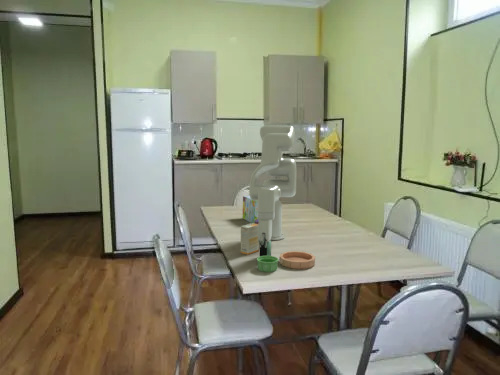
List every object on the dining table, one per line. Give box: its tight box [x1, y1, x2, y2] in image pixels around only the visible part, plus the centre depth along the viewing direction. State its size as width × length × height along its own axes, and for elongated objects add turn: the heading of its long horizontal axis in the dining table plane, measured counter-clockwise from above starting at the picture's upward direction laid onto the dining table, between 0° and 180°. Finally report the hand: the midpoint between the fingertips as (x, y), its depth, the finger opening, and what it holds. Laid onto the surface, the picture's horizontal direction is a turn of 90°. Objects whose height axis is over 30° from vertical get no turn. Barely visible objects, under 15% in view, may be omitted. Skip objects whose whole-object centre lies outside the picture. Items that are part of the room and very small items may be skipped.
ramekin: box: [256, 255, 279, 273], centre depth 168 cm, size 9×9×4 cm
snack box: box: [242, 195, 259, 224], centre depth 255 cm, size 21×6×15 cm, turn 22°
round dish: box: [278, 250, 316, 270], centre depth 175 cm, size 15×15×3 cm
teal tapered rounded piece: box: [259, 240, 272, 256], centre depth 181 cm, size 5×5×8 cm
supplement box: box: [240, 222, 260, 256], centre depth 190 cm, size 8×5×13 cm, turn 141°
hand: (265, 253), depth 181 cm, fingers open, 9 cm apart
